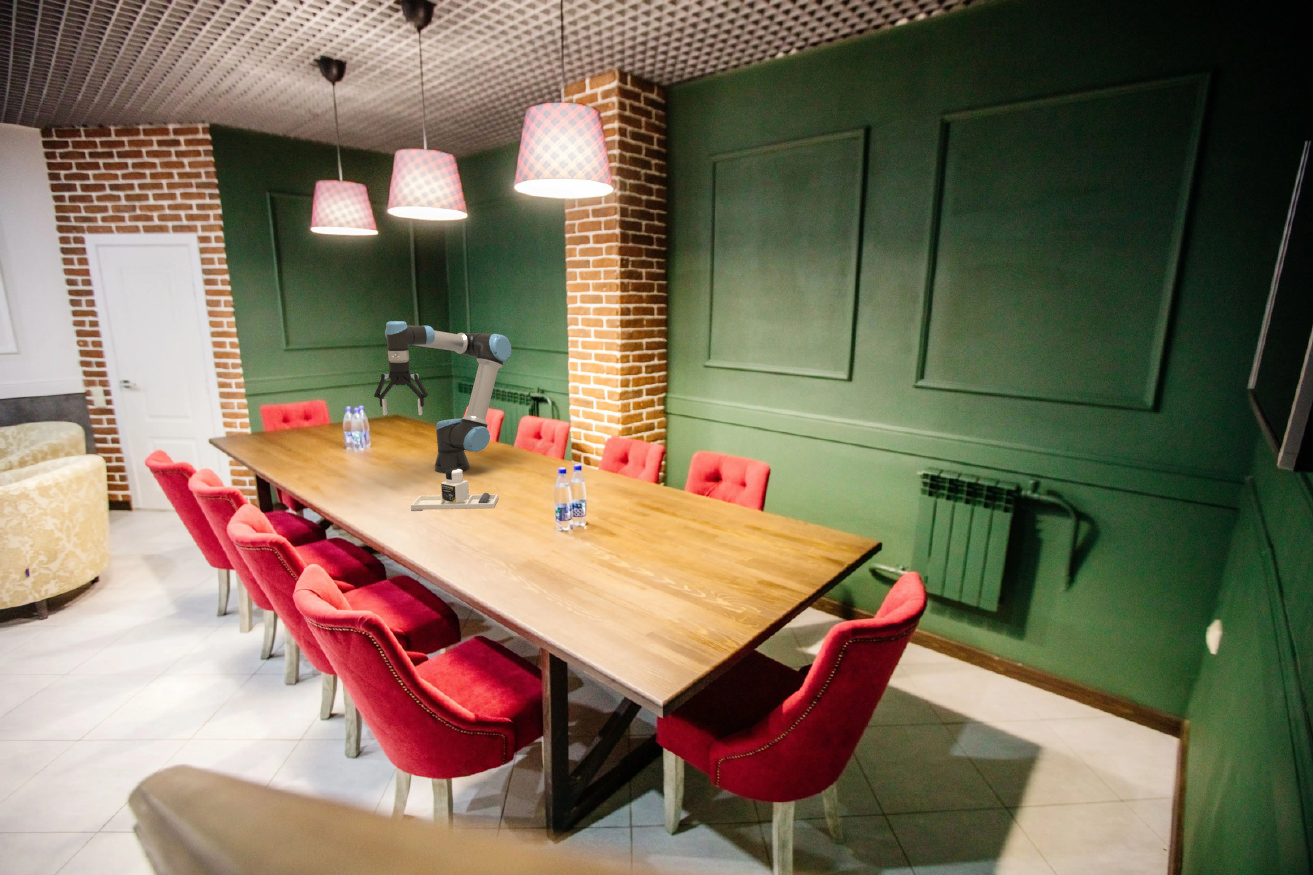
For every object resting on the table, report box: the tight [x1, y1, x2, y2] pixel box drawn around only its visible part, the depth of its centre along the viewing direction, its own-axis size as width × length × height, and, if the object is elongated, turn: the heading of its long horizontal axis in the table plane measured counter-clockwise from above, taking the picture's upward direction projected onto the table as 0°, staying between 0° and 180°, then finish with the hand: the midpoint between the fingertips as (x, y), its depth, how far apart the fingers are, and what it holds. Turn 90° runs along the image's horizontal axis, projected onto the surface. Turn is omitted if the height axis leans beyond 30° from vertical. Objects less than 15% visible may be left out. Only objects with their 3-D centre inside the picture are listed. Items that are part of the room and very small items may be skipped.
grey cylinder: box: [478, 492, 491, 503], centre depth 243 cm, size 8×3×3 cm
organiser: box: [410, 494, 499, 512], centre depth 242 cm, size 12×30×2 cm, turn 95°
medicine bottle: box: [440, 468, 470, 503], centre depth 241 cm, size 7×7×12 cm
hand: (403, 414), depth 253 cm, fingers open, 13 cm apart
